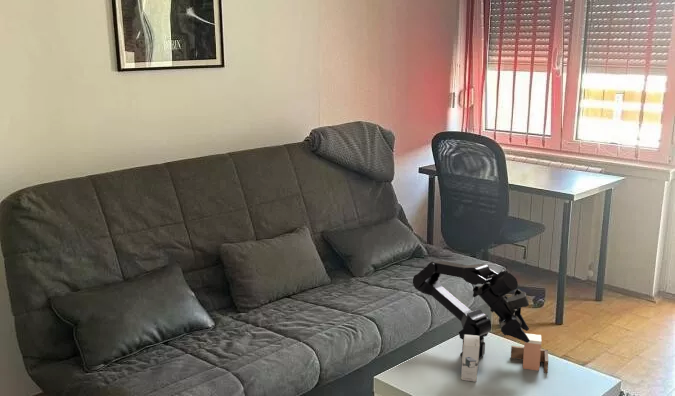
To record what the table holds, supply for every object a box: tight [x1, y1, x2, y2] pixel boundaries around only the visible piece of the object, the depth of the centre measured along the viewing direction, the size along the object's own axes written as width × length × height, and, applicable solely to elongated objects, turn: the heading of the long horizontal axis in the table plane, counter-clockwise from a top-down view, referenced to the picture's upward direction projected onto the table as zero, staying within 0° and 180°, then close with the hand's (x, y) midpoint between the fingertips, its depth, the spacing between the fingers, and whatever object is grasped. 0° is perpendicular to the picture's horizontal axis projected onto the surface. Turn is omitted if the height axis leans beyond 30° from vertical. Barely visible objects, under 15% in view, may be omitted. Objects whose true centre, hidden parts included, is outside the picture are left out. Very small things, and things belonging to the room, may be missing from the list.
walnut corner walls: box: [510, 345, 549, 374], centre depth 216 cm, size 12×8×4 cm
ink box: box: [460, 334, 480, 382], centre depth 208 cm, size 9×5×12 cm, turn 168°
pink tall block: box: [522, 332, 542, 371], centre depth 214 cm, size 5×5×10 cm
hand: (528, 335), depth 214 cm, fingers open, 9 cm apart
